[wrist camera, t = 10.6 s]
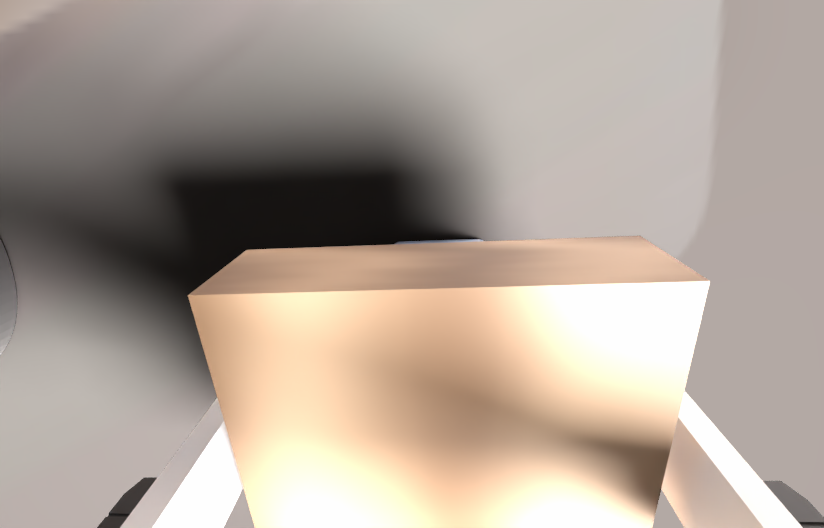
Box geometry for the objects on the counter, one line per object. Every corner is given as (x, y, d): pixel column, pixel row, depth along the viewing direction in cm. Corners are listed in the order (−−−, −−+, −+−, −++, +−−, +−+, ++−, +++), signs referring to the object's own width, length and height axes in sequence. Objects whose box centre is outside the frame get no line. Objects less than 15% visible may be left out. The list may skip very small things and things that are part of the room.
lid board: (309, 532, 16) (282, 622, 13) (246, 249, 12) (187, 295, 9) (592, 537, 15) (627, 633, 13) (640, 235, 11) (709, 281, 8)
